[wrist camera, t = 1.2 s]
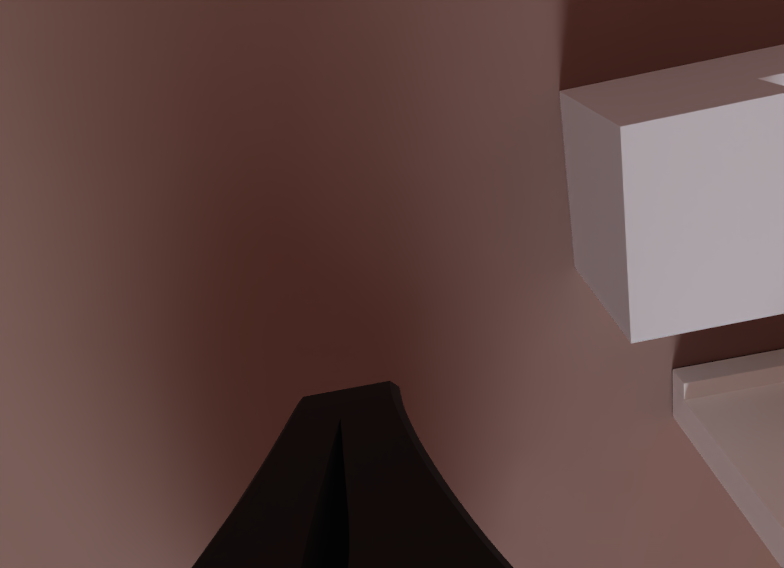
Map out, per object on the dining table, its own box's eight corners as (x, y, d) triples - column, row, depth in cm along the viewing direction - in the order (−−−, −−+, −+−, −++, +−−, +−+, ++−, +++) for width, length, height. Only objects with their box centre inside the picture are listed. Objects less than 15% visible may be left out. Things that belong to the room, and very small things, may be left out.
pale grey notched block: (816, 216, 19) (941, 282, 15) (572, 264, 19) (631, 343, 15) (831, 32, 17) (980, 52, 13) (557, 89, 17) (620, 126, 13)
